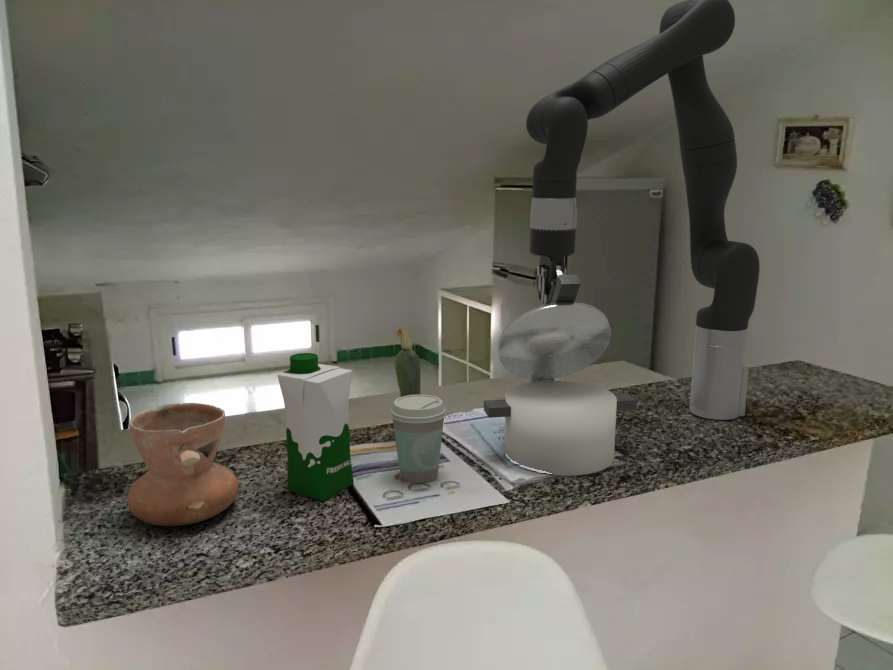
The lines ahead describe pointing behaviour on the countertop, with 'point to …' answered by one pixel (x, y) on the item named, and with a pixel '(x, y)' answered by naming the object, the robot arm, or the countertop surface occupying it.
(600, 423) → the cooker pot
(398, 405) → the coffee cup
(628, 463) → the countertop surface
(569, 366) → the cooker lid
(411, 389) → the vegetable
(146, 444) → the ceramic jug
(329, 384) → the milk carton
